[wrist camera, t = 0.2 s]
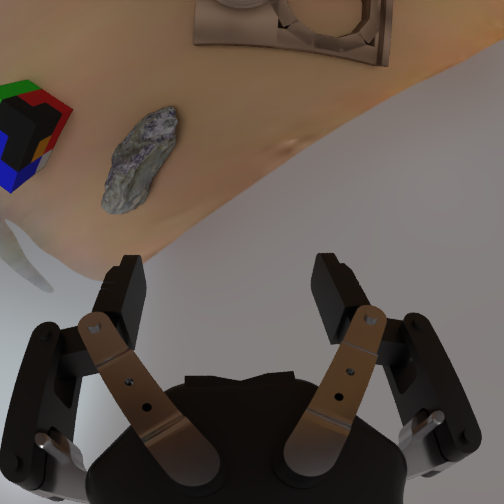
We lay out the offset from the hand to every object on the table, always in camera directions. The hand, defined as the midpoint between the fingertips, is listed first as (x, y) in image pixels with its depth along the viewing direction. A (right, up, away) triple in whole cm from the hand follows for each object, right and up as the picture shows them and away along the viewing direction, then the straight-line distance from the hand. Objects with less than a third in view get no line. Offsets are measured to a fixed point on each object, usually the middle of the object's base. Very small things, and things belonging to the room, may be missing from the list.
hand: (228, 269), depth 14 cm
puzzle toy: (-30, +20, +18) cm, 40 cm away
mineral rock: (-13, +14, +24) cm, 31 cm away
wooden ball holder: (+6, +33, +13) cm, 36 cm away
